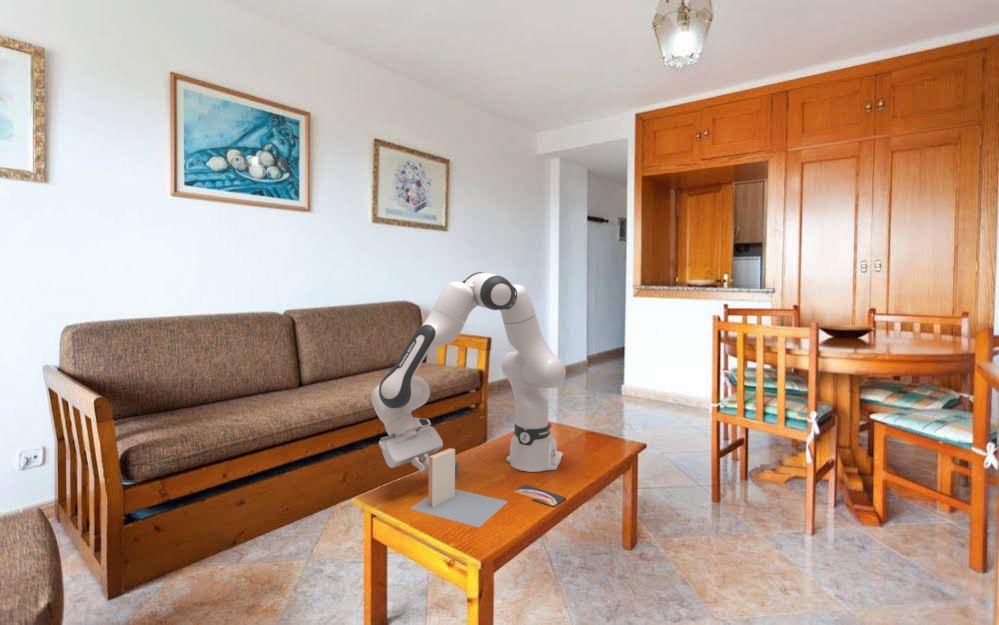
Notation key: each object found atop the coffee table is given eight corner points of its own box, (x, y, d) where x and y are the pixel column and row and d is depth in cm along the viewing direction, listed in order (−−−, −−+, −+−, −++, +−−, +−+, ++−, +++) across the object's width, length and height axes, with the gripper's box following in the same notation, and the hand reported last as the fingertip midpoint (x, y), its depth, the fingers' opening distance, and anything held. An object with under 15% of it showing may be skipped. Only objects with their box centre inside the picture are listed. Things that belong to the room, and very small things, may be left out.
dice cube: (436, 478, 159) (436, 463, 159) (446, 473, 163) (446, 458, 163) (449, 482, 156) (449, 466, 156) (458, 476, 161) (458, 461, 160)
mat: (443, 487, 152) (443, 486, 152) (508, 503, 142) (508, 501, 142) (409, 510, 137) (409, 508, 137) (478, 529, 127) (479, 527, 127)
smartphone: (553, 506, 139) (511, 492, 149) (553, 509, 139) (511, 495, 149) (567, 497, 145) (525, 483, 154) (567, 500, 145) (525, 486, 155)
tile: (428, 505, 139) (428, 456, 138) (450, 494, 146) (450, 448, 145) (433, 507, 138) (433, 457, 137) (454, 496, 145) (455, 449, 144)
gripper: (381, 433, 141) (404, 475, 136) (432, 418, 157) (455, 455, 152) (371, 445, 144) (393, 487, 139) (422, 429, 160) (444, 466, 155)
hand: (426, 470), depth 145 cm, fingers closed
